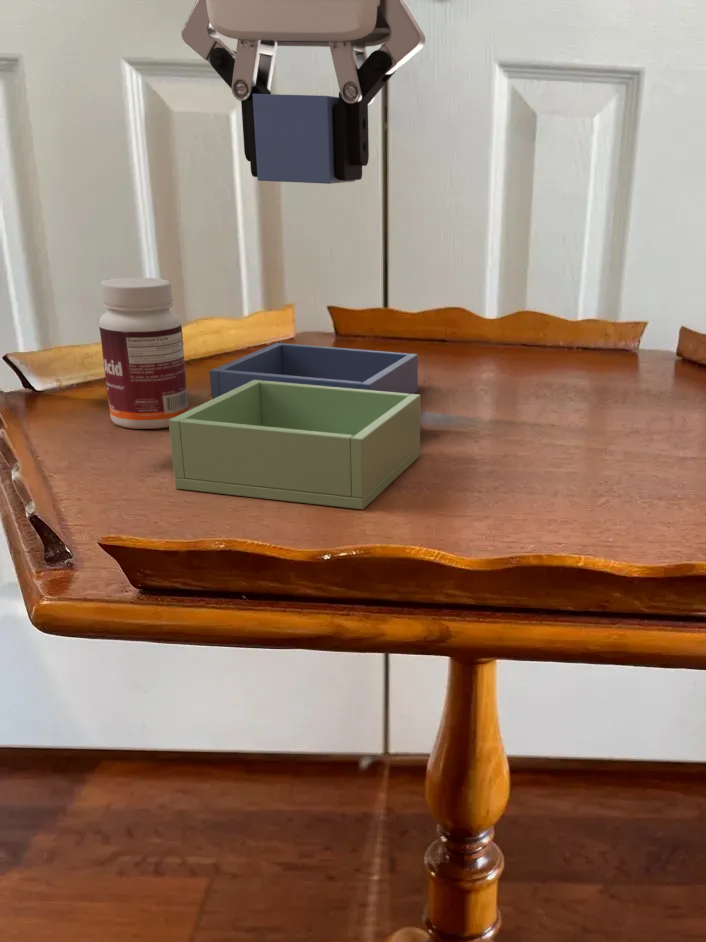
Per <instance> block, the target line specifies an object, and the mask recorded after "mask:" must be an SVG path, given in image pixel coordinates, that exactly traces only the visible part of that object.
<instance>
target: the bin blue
mask: <svg viewBox="0 0 706 942" xmlns="http://www.w3.org/2000/svg"><path fill="white" fill-rule="evenodd" d="M418 372H419V355H418V353H407V352H396V351H395V352H394V351H383V350H371V349H360V348H347V347H334V346H323V345H322V346H321V345H312V344H311V345H310V344H309V345H308V344H297V343H286V342H285V343H284V342H275V343H273V344H270V345H267V346H265V347H263V348H261V349H258V350H256V351H253V352H251V353H249V354H246V355H244V356H241V357H239V358H237V359H234V360H232V361H229V362H227V363H224V364H222V365H219V366H218V367H215V368H213V369H210V370H209V381H210V397H211V400H212V399H214V398H216V397H219V396H221V395H223V394H225V393H227V392H229V391H231V390H233V389H236V388H238V387H240V386H242V385H244V384H246V383H248V382H250V381H253V380H262V381H274V382H285V383H296V384H307V385H318V386H330V387H341V388H352V389H363V390H374V391H385V392H397V393H408V394H416V392H418V388H419V387H418V386H419V385H418V384H419V383H418V382H419V374H418Z"/></svg>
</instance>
